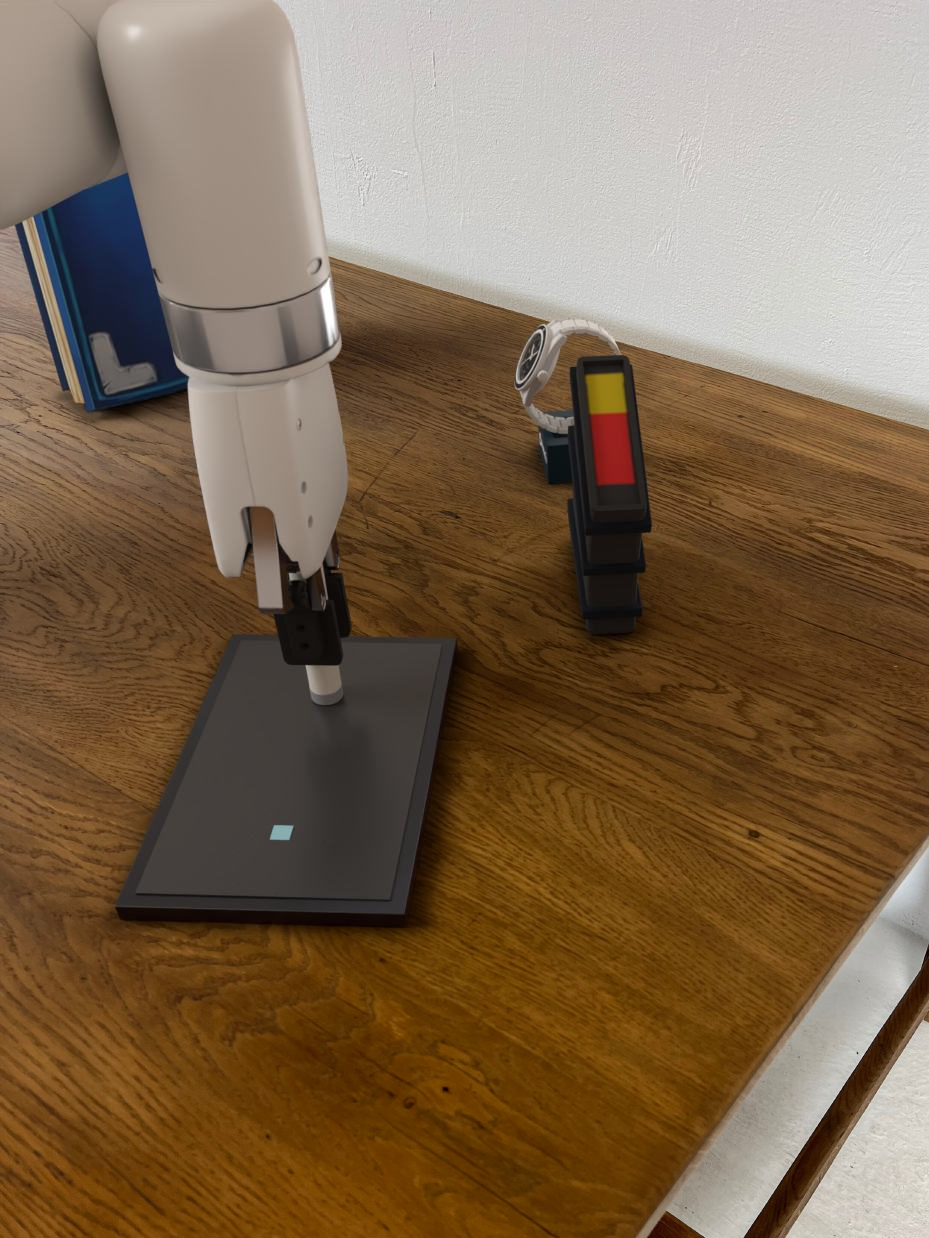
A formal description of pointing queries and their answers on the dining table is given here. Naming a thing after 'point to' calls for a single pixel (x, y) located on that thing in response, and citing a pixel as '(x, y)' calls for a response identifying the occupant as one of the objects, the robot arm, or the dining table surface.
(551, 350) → the watch
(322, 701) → the stylus
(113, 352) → the book
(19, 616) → the dining table surface
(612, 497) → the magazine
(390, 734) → the tablet
